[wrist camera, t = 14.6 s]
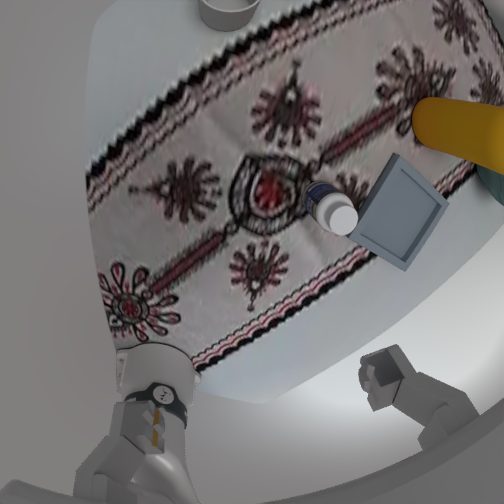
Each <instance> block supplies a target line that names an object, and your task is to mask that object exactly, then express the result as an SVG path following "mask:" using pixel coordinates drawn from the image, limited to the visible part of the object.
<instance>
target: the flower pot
mask: <svg viewBox="0 0 504 504" xmlns="http://www.w3.org/2000/svg"><path fill="white" fill-rule="evenodd" d="M477 171H478V175H479V177H480V178H481V180H483V181H484V183H485V185H486V187H487V189H488V190H489V192H490V193H491V194H492V196H493V197H494V198H495V199H496V200H497V201H498V202H499V203H500V204H501V205H503V206H504V175H503V174H500V173H497V172H495V171H493V170H491V169H488V168H486V167H483V166H481V165H478V164H477Z"/></svg>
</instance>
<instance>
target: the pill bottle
mask: <svg viewBox="0 0 504 504" xmlns="http://www.w3.org/2000/svg"><path fill="white" fill-rule="evenodd" d="M302 201H303V205H304V207H305V209H306V210H307V211H308V212H309V213H310V215H311V216H312V217H313V218H314V219H315V220H316V221H317V223H318V224H319V225H320V226H321V227H322V228H324V229H325V230H327V231H332V232H334V233H335V234H337V235H346V234H348V233H350V232H351V231H353V230H354V228H355V227H356V225H357V222H358V215H357V212H356V210H355V209H354V208H353V204H352V202H351V200H350V199H349V198H348V197H347V196H346V195H344V194H343V193H342V192H340V191H339V190H337V189H336V188H335V187H333V186H332V185H330V184H329V183H327V182H324V181H316V182H313V183H311V184H310V185H309V186H308V187H307V188H306V189H305V191H304V193H303V197H302Z"/></svg>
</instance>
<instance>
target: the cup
mask: <svg viewBox="0 0 504 504" xmlns="http://www.w3.org/2000/svg"><path fill="white" fill-rule="evenodd" d="M259 2H260V0H199V8H200V15H201V17H202V19H203V21H204V22H205V23H206V24H207V25H208V26H209V27H211V28H213V29H216V30H219V31H234V30H237V29H240V28H242V27H243V26H245V25H246V24H247V23H248V22H249V21H250V20H251V18H252V16H253V14H254V12H255V10H256V8H257V6H258V4H259Z"/></svg>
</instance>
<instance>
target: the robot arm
mask: <svg viewBox="0 0 504 504" xmlns="http://www.w3.org/2000/svg"><path fill="white" fill-rule="evenodd" d="M360 363H361V365H362V366H361V368H360V369H359V373H358V375H359V381H360V384H361V387H362V389H363V390H364V391H365V392H367V393H369V394H368V398H367V399H368V402H369V404H370V406H371V408H372V409H373V411H376V410H379V409H382V408H384V407H387V406H390V405H392V404H393V406H394V407H395V408H397V409H398V410H400V411H401V412H403V413H405V414H406V415H407V416H409V417H411V418H412V419H414V420H415V421H417V422H418V423H420V424H421V425H423V426H425V428H424V429H423V431H422V432H421V434H420V435H419V437H418V441H419V443H420V445H421V447H422V449H423V450H422V451H421V452H418V453H417V454H415V455H413V456H411V457H408V458H406V459H404V460H402V461H400V462H398V463H395V464H393V465H391V466H389V467H386V468H384V469H382V470H379V471H377V472H374V473H372V474H369V475H367V476H364V477H361V478H358V479H355V480H352V481H349V482H346V483H343V484H340V485H337V486H334V487H331V488H327V489H324V490H320V491H316V492H312V493H309V494H304V495H300V496H296V497H291V498H286V499H282V500H276V501H270V502H264V503H258V504H504V398H503V399H501V400H500V401H499V402H498V403H496V404H495V405H494V406H492V407H491V408H490V409H488V410H487V411H486V412H484V413H483V414H481V415H479V413H478V412H477V410H476V409H475V407H474V406H473V404H472V402H471V401H470V399H469V398H468V396H467V395H466V393H465V392H463V391H460V390H458V389H456V388H454V387H451V386H450V385H447V384H445V383H443V382H441V381H439V380H436V379H434V378H432V377H430V376H428V375H425V374H424V373H421V372H418V373H416V371H415V369H414V368H413V366H412V365H411V363H410V362H409V360H408V359H407V357H406V356H405V354H404V353H403V352H402V350H401V349H400V347H399V346H398V345H397V344H395V345H392V346H390V347H387V348H385V349H381V350H378V351H376V352H373V353H370V354H367V355H365V356H362V357H361V359H360ZM116 372H117V373H116V375H117V391H118V392H119V393H120V394H122V402H116V404H115V405H114V410H113V415H112V420H111V426H110V432H109V436H105V437H104V439H103V440H102V441H101V442H100V443H99V444H98V446H97V447H96V448H95V449H94V450H93V451H92V453H91V454H90V455H89V456H88V457H87V458H86V460H85V461H84V462H83V463H82V464H81V466H80V467H79V468H78V469H77V470H76V476H75V483H74V490H73V496H69V495H65V494H61V493H57V492H54V491H50V490H47V489H44V488H40V487H37V486H34V485H31V484H28V483H26V482H23V481H20V480H16V479H15V480H11V481H10V482H9V483H7V484H6V485H5V486H4V487H3V488H2V489H1V490H0V504H200V502H199V500H198V498H197V495H196V493H195V490H194V488H193V485H192V482H191V479H190V476H189V473H188V470H187V465H186V458H185V435H184V430H185V429H186V426H187V419H188V416H187V410H188V409H189V408H191V407H192V406H193V404H194V393H195V392H194V391H195V386H196V385H198V384H199V383H200V382H201V375H200V374H199V373H198V372H197V371H195V369H194V367H193V364H192V362H191V360H190V359H189V358H188V357H187V356H186V355H185V354H184V353H182V352H181V351H179V350H177V349H175V348H173V347H170V346H167V345H162V344H143V345H139V346H136V347H134V348H132V349H123V350H118V351H117V353H116ZM132 477H134V479H135V482H136V483H133V482H131V479H132Z"/></svg>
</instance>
